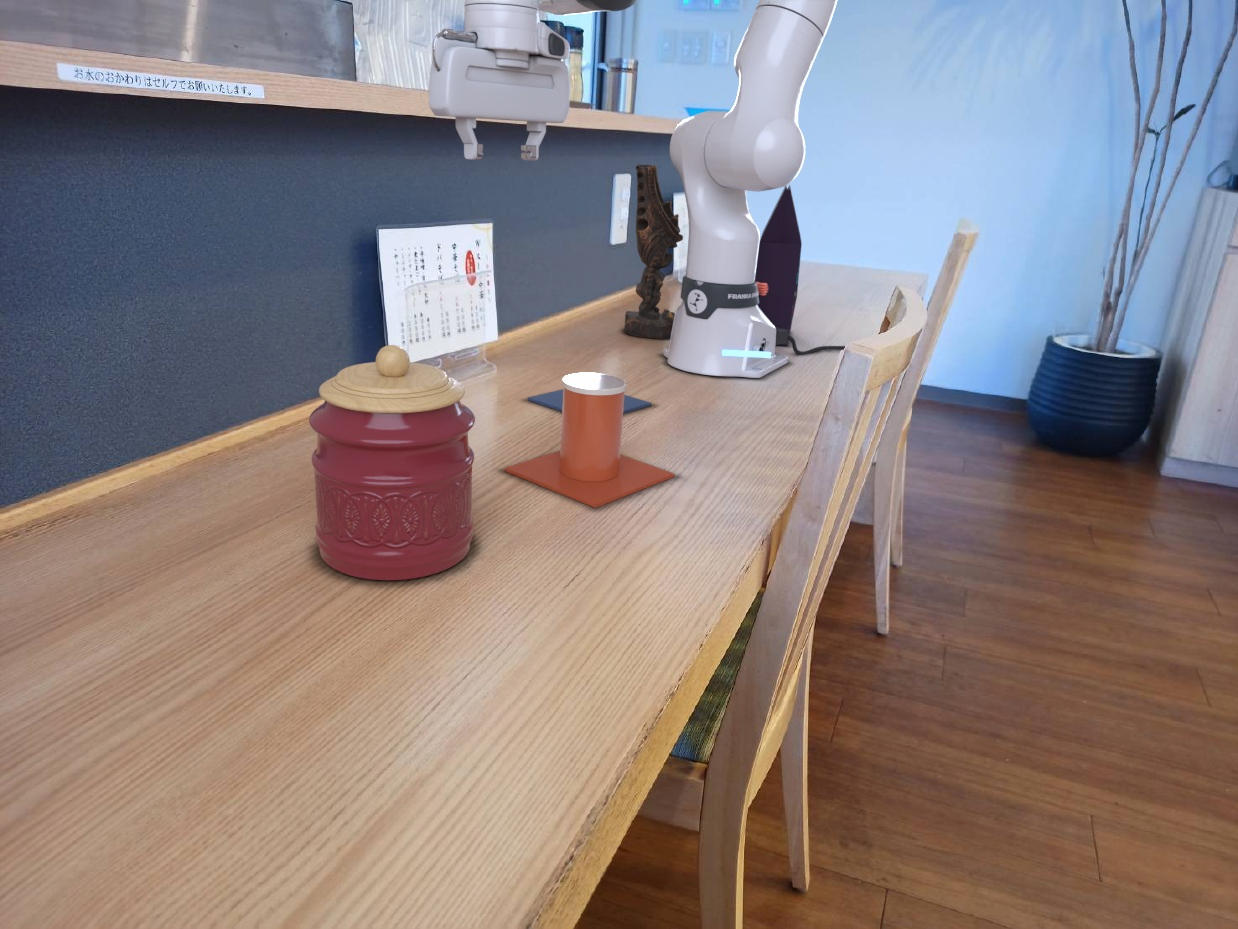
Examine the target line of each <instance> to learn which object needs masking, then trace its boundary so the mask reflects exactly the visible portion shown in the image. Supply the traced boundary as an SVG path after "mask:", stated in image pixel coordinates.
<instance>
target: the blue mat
mask: <svg viewBox="0 0 1238 929" xmlns="http://www.w3.org/2000/svg"><path fill="white" fill-rule="evenodd" d="M527 401H528V402H532V403H534V404H538V405H541V406H543V407H547V408H549V409H552V410H555V411H559V412H561V413H562V405H563V389H558V390H555V391H551V392H550V391H549V392H545V393H542V394H538V395H533V396H529V397H527ZM648 407H652V402H650V401H646V400H643V399H640V398H637V397H632V396H630V395H626V394H625V395H624V409H623V414H627V413H631V412H633V411H638V410H641V409H644V408H648Z"/></svg>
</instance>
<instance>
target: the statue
mask: <svg viewBox="0 0 1238 929" xmlns="http://www.w3.org/2000/svg"><path fill="white" fill-rule="evenodd" d="M657 167H658V166H657V165H653V164H637V165H636V166H635V170H636V182H637V183H636V198H637V199H636V215H635V235H636V249H637V253H638V256H639V259H640V261H641V262H642V263H643V264H644V265H645V267H644V268H643V271H642V274H641V278H640V282H638V283H637V284H636V287H635V294H637V295H638V297H640V298H641V299H642V301H641V302H640V304H639V306H638V311H632V310H626V312H625V313H624V327H623V328H624V331H625V333H626V334H628V335H631V336H635V337H641V338H646V339H656V340H666V339H669V340H670V339H671V333H672V328H673V322H674V317H675V312H673V311H670V310H669V309H666V308H664V310H663V311H662V312H660V308H659V307H658V304H659V303H660V301H661V300H662V299H661V297H662V292H661V289H662V288H663V286H664V281H665V279H666V275H665V274H664V273H663V271H661V270H662V269H665V268H667V267H669V266H670V265H671V263H672V261H673V259H674V255H675V254H674V253H669V250H668V249H670V248H671V249H676V248H677V247H678V243H680V242H682V241H683V240H684V235H683V234H681V228H680V227H679V218H680V215H679V214H678V213H676V214H674V212H673V207H672V203H673V201H672V200H667V201H665V200H664V198H663V195H662V192H661V187H660V183H659V182H660V181H659V178H658V170H657Z"/></svg>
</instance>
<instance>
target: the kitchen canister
mask: <svg viewBox="0 0 1238 929" xmlns="http://www.w3.org/2000/svg"><path fill="white" fill-rule="evenodd" d="M410 361H411V360H410V355H409V354H408V352H407V351H406V349H405V348H403V347H402V346H400V345H396V344H388V345H385V346H383V347H381V348H380V349H379V351H378V352H377V354H376V356H375V361H371V362H363V363H357V364H354V365H350V366H346V367H344V368H342V369H340V371H338V372H337V374H336V375H334V376H333V377H330V378H329V379H327V380H326V381H324V382H323V383H322V384H321V385H319V388H318V394H319V397H321V398H322V400H324V401H323V403H322V404H320V405H319V406H317V407H316V408H315V409H314V410H313V411H312V412H311V413H310V415H309V418H308V422H309V425H310V427H311V429H312V430H313V431H314V432H315V433H316V434H317V436H316V437H317V439H316V440H317V441H316V448H315V450H314V451H313V453H312V456H311V464H312V467H313V470H314V471H313V472H314V486H315V488H314V489H315V490H314V491H315V505H316V521H315V526H314V530H315V540H316V543H317V546H318V548H319V554H320V557H321V558H322V560H323V562H324V563H326V564H327V566H329V567H330V568H332V569H333V570H335V571H338V572H339V573H342V574H344V575H348V576H352V577H355V578H360V579H367V580H372V581H373V580H375V581H402V580H411V579H419V578H424V577H427V576H431V575H435V574H438V573H442V572H443V571H445V570H447V569H450V568H452V567H454V566H456V565H457V564H458V563H460V562H461V561H462V560H464V559H465V557H466V556H467V555H468V553H469V552H470V548H471V542H472V539H473V538H474V523H475V521H474V517H473V513H472V511H473V510H472V509H473V508H472V507H473V506H472V505H473V463H474V462H475V453H474V451H473V449H472V448H471V446H470V443H469V431H470V430H472V428H473V427H474V425H475V422H476V416H475V414H474V412H473V411H472V409H471V408H469V407H468V406H466V405H465V404H463V403H462V402H461V400H462V398H464V396H465V394H466V390H465V387H464V385H463V384H462V383H461V382H459V381H458V380H456V379H454V378H453V377H451V376H449V375H448V374H447V373H446V371H444V370H443V369H441V368H439V367H436V366H434V365H429V364H424V363H419V362H410Z"/></svg>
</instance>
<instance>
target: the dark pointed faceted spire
mask: <svg viewBox="0 0 1238 929" xmlns="http://www.w3.org/2000/svg"><path fill="white" fill-rule="evenodd" d="M800 231H801V230H800V227H799V222H798V217H797V211H796V207H795V202H794V198H793V193H792V188H791V184H788V186H787V185H786V186H784V187H783V190H782V192H781V193H780V196H779V197H778V199H777V202H776V204H775V206H774V208H773V210H772V211H771V214H770V216H769V218H768V220H767V222H766V224H765V226H764V228H763V231H762V233H761V235H760V244H759V252H758V260H757V268H756V277H755V282H759V283H767V284H768V285H767V286H768V287H767V288H768V290H766V291H768V292H766V293H767V294H766V295H765V296H763V295H760V294H759V296H758V297H759V304H758V307H759V308H760V309H761V310H762V312H763V313H764V314H765V316H766V317H767V318H768V319H769V320H770V322H771V323H772V324H773V325H774V326H775V327H778V328H781V329H785V330H788V335H790V336H791V330H792V324H793V319H794V314H795V309H796V304H797V299H798V290H799V289H798V288H799V279H800V278H799V277H800V267H801V256H802V245H803V244H802V237H801V232H800ZM789 342H790V340H789V339H787V344H779V345H778V346H781V347H788V345H789Z"/></svg>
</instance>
